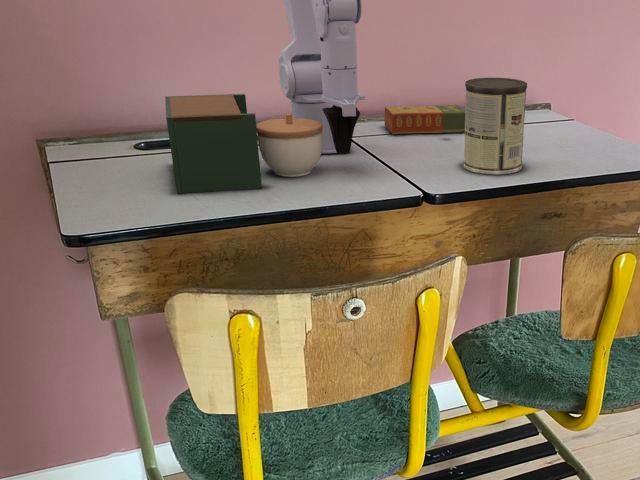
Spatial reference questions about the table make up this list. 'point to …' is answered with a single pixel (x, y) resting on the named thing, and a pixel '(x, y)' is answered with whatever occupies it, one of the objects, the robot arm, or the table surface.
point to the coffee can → (494, 125)
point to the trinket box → (290, 144)
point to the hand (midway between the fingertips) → (342, 152)
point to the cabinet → (213, 143)
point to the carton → (425, 119)
